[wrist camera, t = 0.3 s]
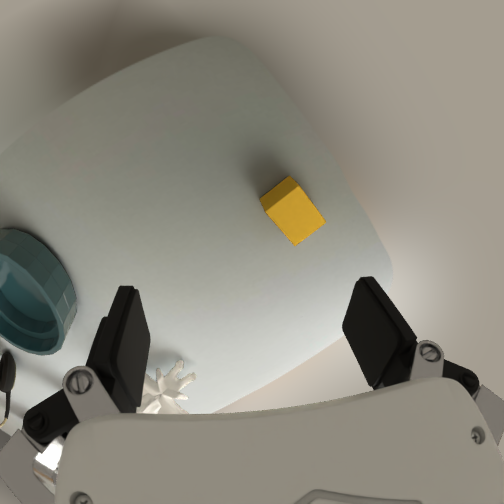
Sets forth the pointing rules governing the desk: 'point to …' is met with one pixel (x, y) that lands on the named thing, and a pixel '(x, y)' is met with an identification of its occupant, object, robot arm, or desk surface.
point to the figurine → (164, 392)
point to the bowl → (33, 295)
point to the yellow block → (292, 210)
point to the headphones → (7, 380)
